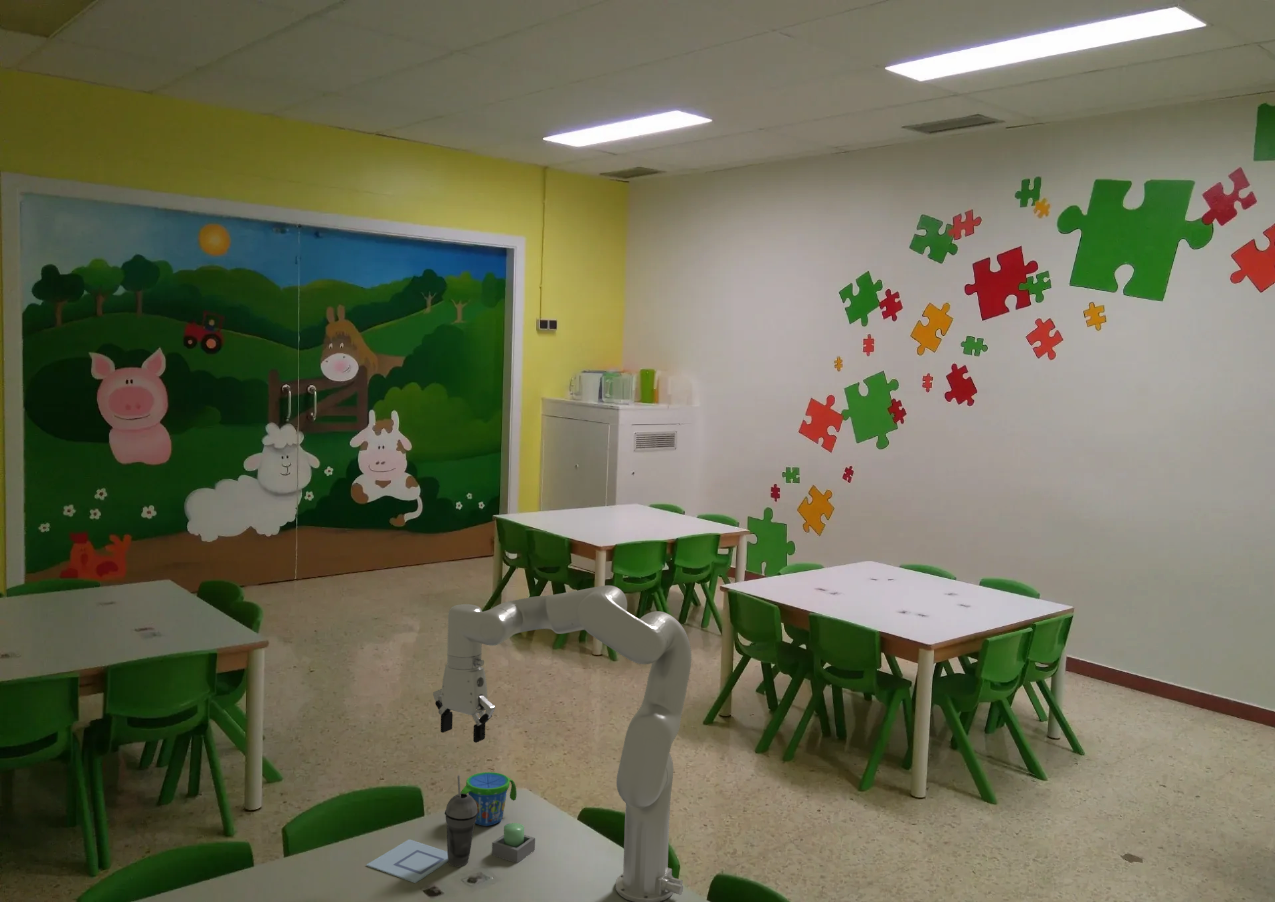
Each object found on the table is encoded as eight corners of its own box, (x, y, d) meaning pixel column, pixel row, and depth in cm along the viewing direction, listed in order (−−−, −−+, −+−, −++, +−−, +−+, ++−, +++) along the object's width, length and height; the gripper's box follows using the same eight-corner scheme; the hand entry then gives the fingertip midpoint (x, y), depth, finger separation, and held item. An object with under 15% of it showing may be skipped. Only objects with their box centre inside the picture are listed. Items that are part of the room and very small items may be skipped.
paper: (456, 856, 222) (456, 854, 222) (415, 883, 210) (415, 881, 210) (409, 840, 229) (409, 839, 229) (366, 865, 217) (366, 864, 217)
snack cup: (506, 805, 249) (507, 766, 249) (525, 821, 241) (526, 781, 240) (448, 818, 241) (449, 778, 240) (466, 836, 232) (467, 794, 231)
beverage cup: (471, 871, 216) (477, 785, 214) (438, 868, 216) (443, 782, 214) (477, 854, 223) (483, 770, 221) (445, 851, 223) (451, 767, 221)
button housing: (534, 850, 226) (535, 838, 226) (517, 863, 220) (517, 850, 220) (509, 842, 230) (510, 830, 229) (491, 855, 223) (492, 842, 223)
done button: (527, 842, 226) (528, 826, 225) (516, 851, 222) (516, 834, 221) (511, 837, 228) (511, 821, 227) (499, 846, 224) (499, 829, 223)
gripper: (505, 664, 216) (503, 739, 218) (446, 650, 226) (445, 722, 227) (482, 672, 210) (481, 749, 211) (423, 657, 219) (422, 732, 221)
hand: (462, 735), depth 219 cm, fingers open, 9 cm apart
